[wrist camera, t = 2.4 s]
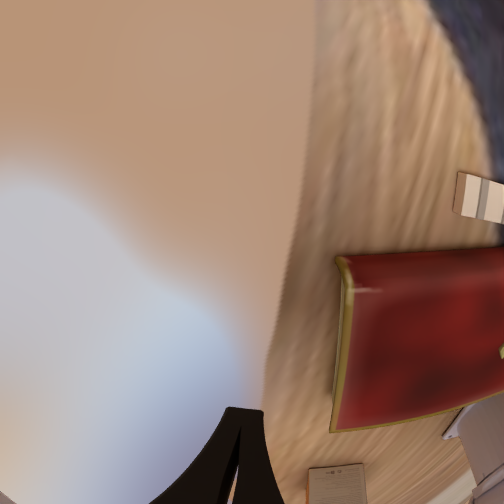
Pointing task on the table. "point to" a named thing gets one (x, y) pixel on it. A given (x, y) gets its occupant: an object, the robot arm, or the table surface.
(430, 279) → the hardcover book
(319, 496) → the small box
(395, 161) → the table surface
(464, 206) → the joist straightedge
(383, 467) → the table surface
